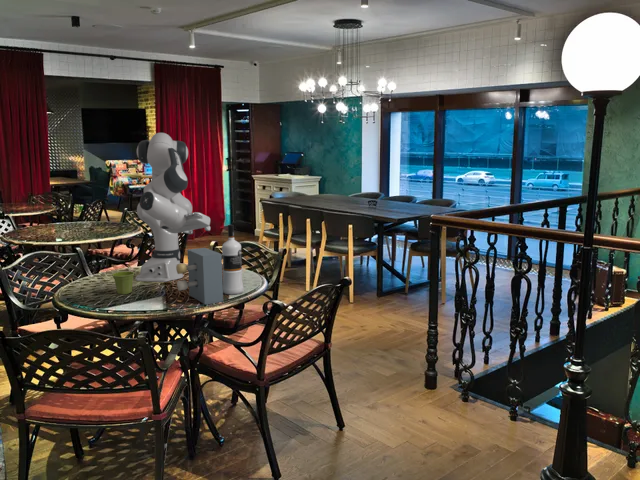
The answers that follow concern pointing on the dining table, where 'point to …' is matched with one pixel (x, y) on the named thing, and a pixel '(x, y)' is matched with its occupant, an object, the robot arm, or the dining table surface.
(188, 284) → the knob lower
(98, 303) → the dining table surface
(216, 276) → the console
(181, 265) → the knob upper
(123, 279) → the plant pot
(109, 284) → the dining table surface
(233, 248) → the vodka
